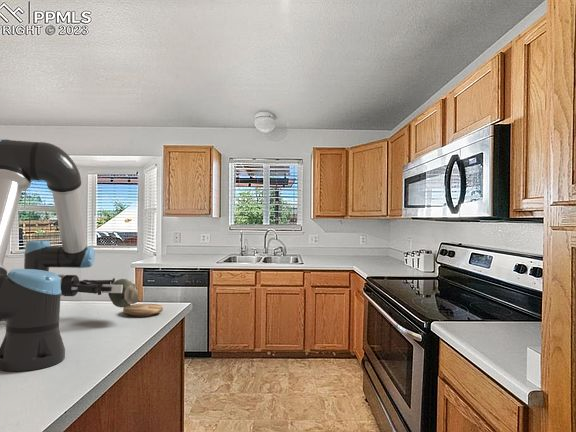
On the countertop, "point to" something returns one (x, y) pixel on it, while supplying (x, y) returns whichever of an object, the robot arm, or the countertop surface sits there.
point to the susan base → (143, 315)
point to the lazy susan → (143, 309)
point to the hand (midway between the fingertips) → (127, 286)
